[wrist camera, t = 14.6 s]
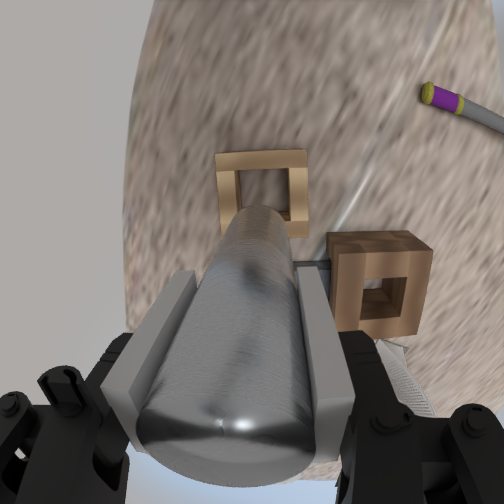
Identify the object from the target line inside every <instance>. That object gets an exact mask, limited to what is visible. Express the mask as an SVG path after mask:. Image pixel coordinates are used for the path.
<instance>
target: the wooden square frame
mask: <svg viewBox="0 0 504 504" xmlns="http://www.w3.org/2000/svg"><path fill="white" fill-rule="evenodd" d="M215 163H216V176H217V188H218V200H219V211H220V222H221V233H222V238H223V236H224V234H225V232H226V230H227V228H228V226H229V224H230V222H231V220H232V219H233V217H234V216H235V214H237V213H238V212H239V211H240V210H241V209H242V204H241V189H240V175H239V170H254V169H276V168H287V179H288V207H289V211H282V212H278V213H279V214H280V215H281V216H282V218H283V219H284V221H285V223H286V226H287V230H288V236H289V238H306V237H309V222H308V172H307V150H306V149H276V150H254V151H238V152H225V153H218V154H215Z"/></svg>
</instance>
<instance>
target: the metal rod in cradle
mask: <svg viewBox="0 0 504 504" xmlns="http://www.w3.org/2000/svg"><path fill="white" fill-rule="evenodd" d="M135 426H136V434H137V437H138V439H139V441H140V443H141V445H142V446H143V448H144V449H145V450H146V451H147V452H148V453H149V454H150V455H151V456H152V457H153V458H154V459H155V460H157V461H158V462H159V463H161V464H162V465H164V466H165V467H167V468H169V469H170V470H172V471H174V472H176V473H179V474H181V475H183V476H185V477H188V478H191V479H194V480H197V481H201V482H204V483H208V484H213V485H219V486H227V487H258V486H265V485H271V484H275V483H279V482H282V481H285V480H288V479H290V478H292V477H294V476H296V475H298V474H299V473H301V472H302V471H303V470H305V469H306V468H307V467H308V466H309V465H310V464H311V462H312V461H313V459H314V457H315V454H316V440H315V431H314V423H313V414H312V404H311V395H310V386H309V378H308V369H307V361H306V353H305V345H304V338H303V330H302V323H301V316H300V309H299V302H298V295H297V287H296V280H295V274H294V267H293V261H292V255H291V248H290V242H289V236H288V230H287V226H286V223H285V221H284V219H283V218H282V216H281V215H280V214H279V213H278V212H277V211H275V210H274V209H272V208H270V207H267V206H264V205H252V206H248V207H245V208H243V209H241V210H240V211H239V212H238V213H237V214H235V216H234V217H233V219H232V220H231V222H230V224H229V226H228V228H227V230H226V232H225V234H224V236H223V238H222V240H221V242H220V244H219V246H218V248H217V250H216V252H215V254H214V256H213V258H212V260H211V262H210V264H209V266H208V268H207V270H206V272H205V274H204V276H203V278H202V280H201V282H200V284H199V286H198V288H197V290H196V292H195V294H194V296H193V298H192V301H191V303H190V305H189V307H188V309H187V311H186V313H185V315H184V317H183V319H182V321H181V324H180V326H179V328H178V330H177V332H176V334H175V336H174V338H173V341H172V343H171V345H170V347H169V349H168V351H167V353H166V356H165V358H164V360H163V362H162V364H161V366H160V369H159V371H158V373H157V375H156V377H155V380H154V382H153V384H152V386H151V389H150V391H149V393H148V395H147V397H146V400H145V402H144V404H143V407H142V409H141V411H140V413H139V416H138V418H137V421H136V425H135Z"/></svg>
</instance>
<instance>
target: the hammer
mask: <svg viewBox="0 0 504 504" xmlns="http://www.w3.org/2000/svg"><path fill="white" fill-rule="evenodd" d="M422 100H423V102H424V104H427V105H428V104H432V105H435V106H437V107H440V108H443V109H445V110H448V111H451V112H453V114H455V115H458V114H460V115H462V116H465V117H467V118H470V119H472V120H474V121H477V122H479V123H481V124H484V125H486V126H488V127H490V128H492V129H495V130H497V131H499V132H501V133H503V134H504V117H502V116H500V115H498V114H496V113H494V112H492V111H490V110H488V109H486V108H484V107H482V106H480V105H478V104H476V103H474V102H472V101H470V100H467V99H465V98H463V97H462V96H461V95H460V94H455V93H453V92H450V91H448V90H445V89H442V88H440V87H437V86H434V85H433V83H431V82H427V83H425V84H424V86H423V90H422Z"/></svg>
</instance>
